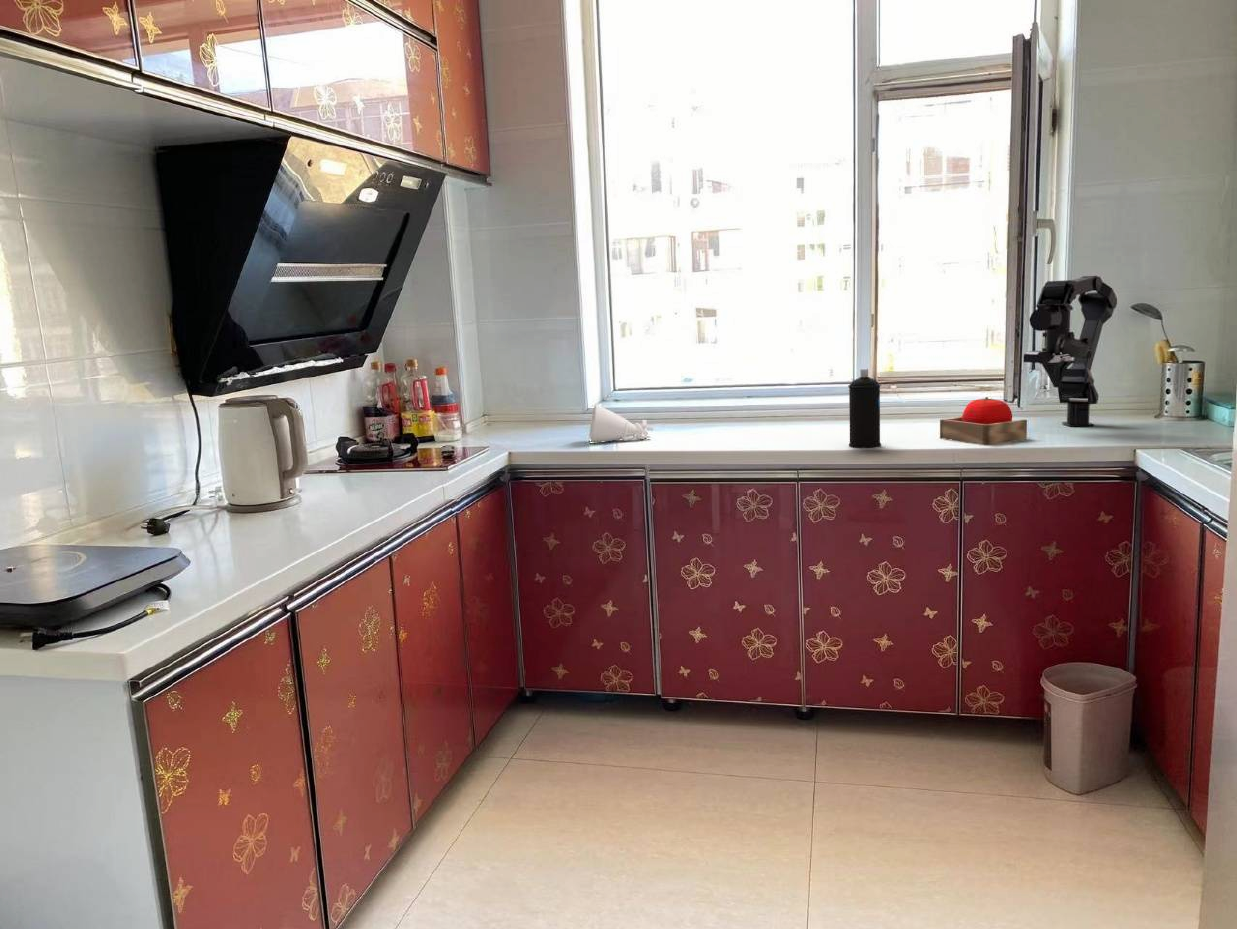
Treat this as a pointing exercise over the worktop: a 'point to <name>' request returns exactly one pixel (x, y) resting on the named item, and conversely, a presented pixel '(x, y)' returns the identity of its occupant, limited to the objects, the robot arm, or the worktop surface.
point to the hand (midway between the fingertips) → (1056, 387)
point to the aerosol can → (864, 412)
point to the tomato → (987, 412)
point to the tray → (983, 431)
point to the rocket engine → (614, 427)
